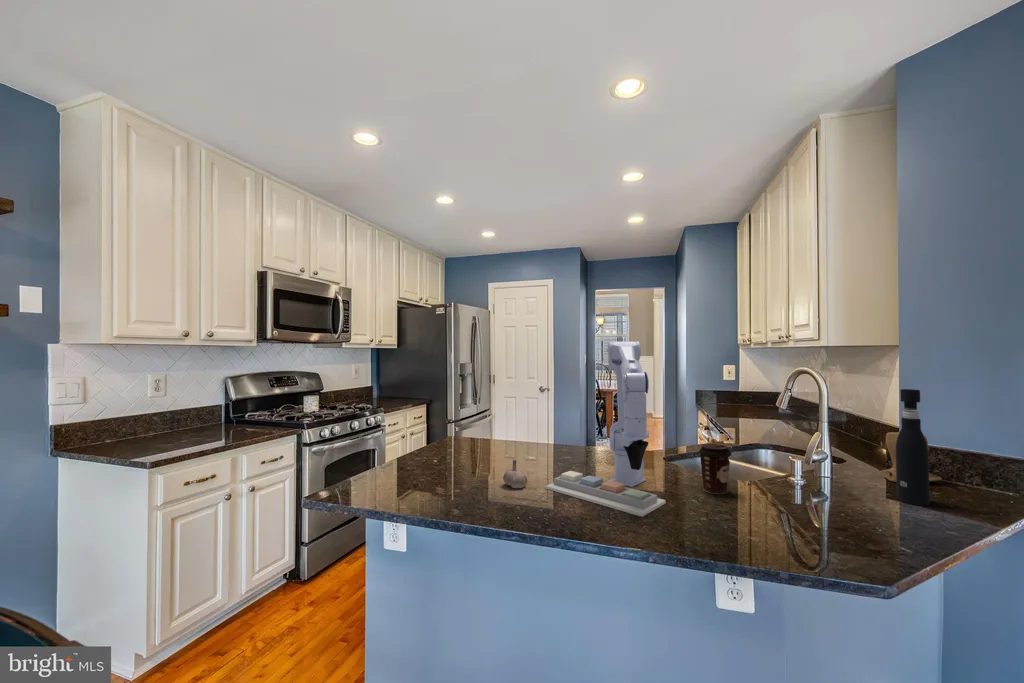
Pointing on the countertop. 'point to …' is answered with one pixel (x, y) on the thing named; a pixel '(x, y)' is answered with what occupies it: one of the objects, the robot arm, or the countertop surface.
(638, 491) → the sage key
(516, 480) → the garlic bulb
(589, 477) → the slate key
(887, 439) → the wooden stand
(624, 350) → the robot arm
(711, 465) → the coffee cup
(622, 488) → the terracotta key
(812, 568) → the countertop surface
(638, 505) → the keypad
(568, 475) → the cream key
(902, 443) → the black water bottle
